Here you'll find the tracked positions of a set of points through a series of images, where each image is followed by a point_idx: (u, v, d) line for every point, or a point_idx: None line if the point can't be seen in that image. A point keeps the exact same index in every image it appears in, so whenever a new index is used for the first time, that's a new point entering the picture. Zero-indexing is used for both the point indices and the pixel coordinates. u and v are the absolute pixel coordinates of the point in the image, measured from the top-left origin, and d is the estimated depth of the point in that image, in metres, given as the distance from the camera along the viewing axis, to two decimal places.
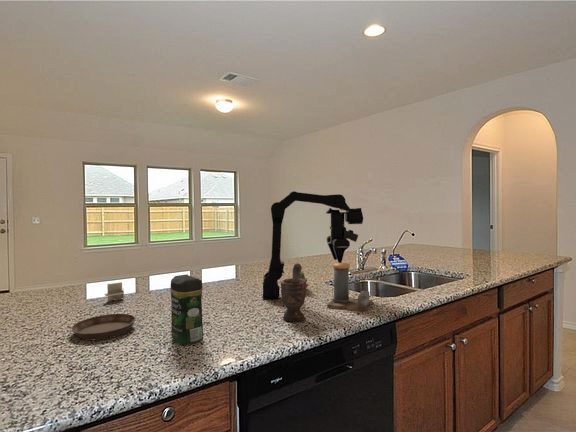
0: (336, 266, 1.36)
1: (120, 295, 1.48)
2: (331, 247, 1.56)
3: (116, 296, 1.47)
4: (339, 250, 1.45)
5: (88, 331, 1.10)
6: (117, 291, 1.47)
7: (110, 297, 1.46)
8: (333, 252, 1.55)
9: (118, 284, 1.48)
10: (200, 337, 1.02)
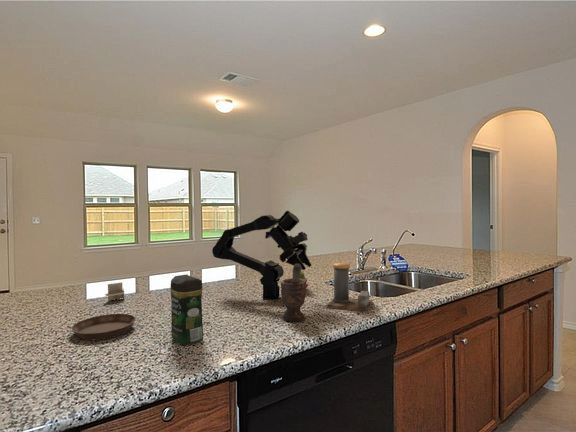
0: (336, 266, 1.36)
1: (120, 295, 1.48)
2: (299, 259, 1.49)
3: (116, 296, 1.47)
4: (294, 260, 1.40)
5: (88, 331, 1.10)
6: None
7: (110, 297, 1.46)
8: (304, 261, 1.48)
9: (118, 284, 1.48)
10: (200, 337, 1.02)
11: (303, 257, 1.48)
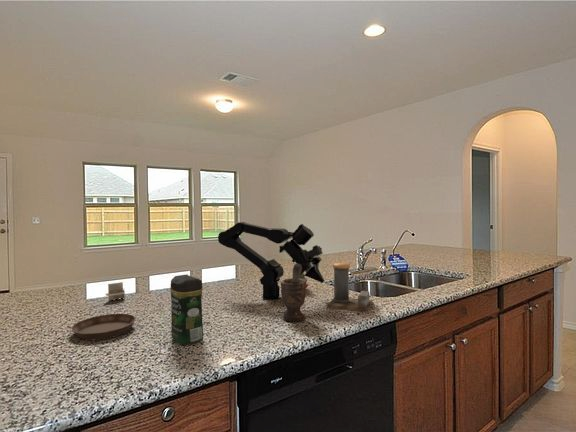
0: (336, 266, 1.36)
1: (121, 295, 1.49)
2: None
3: (117, 296, 1.48)
4: (312, 273, 1.41)
5: (88, 331, 1.10)
6: None
7: (111, 297, 1.46)
8: None
9: (119, 284, 1.48)
10: (200, 337, 1.02)
11: None
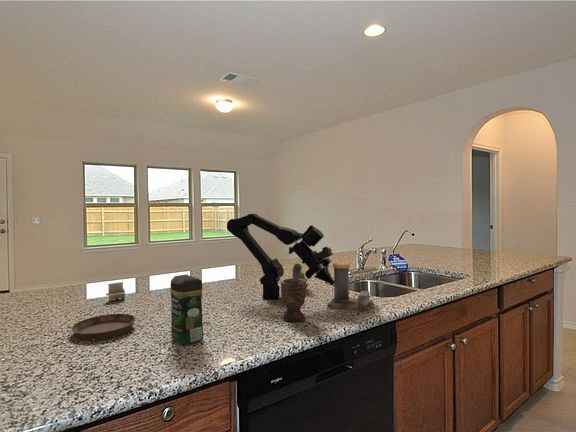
0: (336, 266, 1.36)
1: (121, 295, 1.49)
2: None
3: (117, 296, 1.48)
4: (322, 274, 1.40)
5: (88, 331, 1.10)
6: (118, 291, 1.48)
7: (111, 297, 1.46)
8: None
9: (119, 284, 1.48)
10: (200, 337, 1.02)
11: None
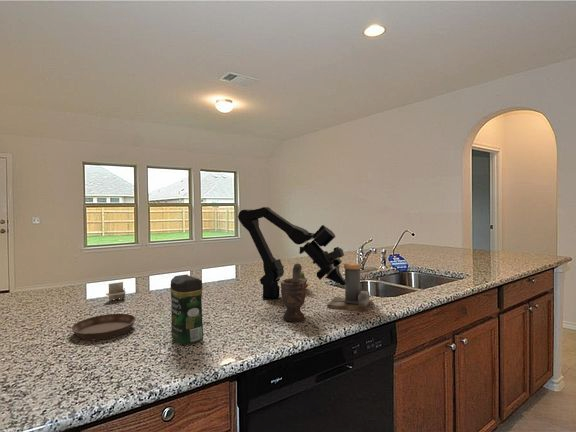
0: (347, 267, 1.34)
1: (121, 295, 1.49)
2: None
3: None
4: (333, 275, 1.38)
5: (88, 331, 1.10)
6: (118, 291, 1.48)
7: (111, 297, 1.46)
8: None
9: (119, 284, 1.48)
10: (200, 337, 1.02)
11: None
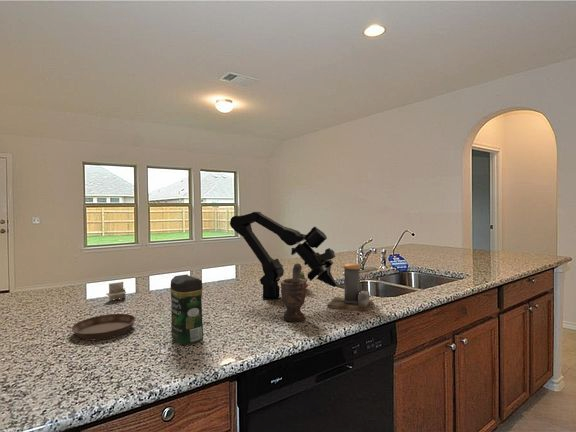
0: (347, 267, 1.34)
1: (121, 294, 1.49)
2: None
3: (117, 296, 1.48)
4: (324, 276, 1.39)
5: (88, 331, 1.10)
6: (118, 291, 1.48)
7: (112, 297, 1.47)
8: None
9: (119, 284, 1.48)
10: (200, 337, 1.02)
11: None
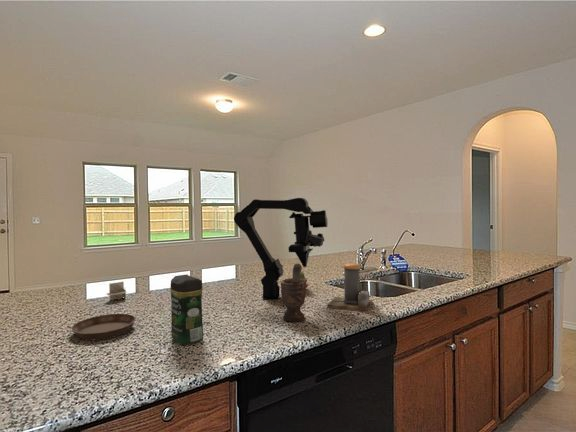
0: (347, 267, 1.34)
1: (122, 294, 1.49)
2: None
3: (118, 295, 1.48)
4: (301, 254, 1.45)
5: (88, 331, 1.10)
6: (119, 290, 1.48)
7: (112, 296, 1.47)
8: None
9: (120, 283, 1.49)
10: (200, 337, 1.02)
11: None
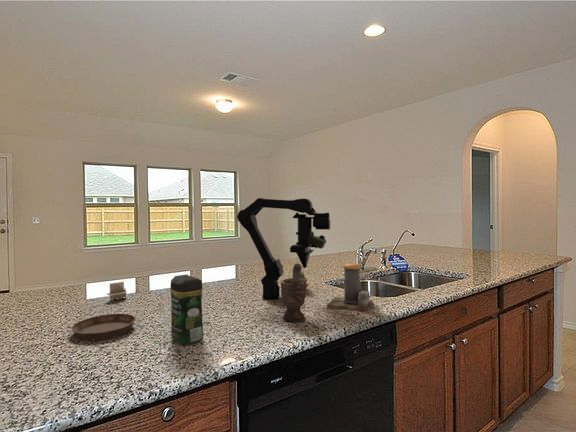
0: (347, 267, 1.34)
1: (122, 294, 1.49)
2: None
3: (118, 295, 1.48)
4: (302, 254, 1.45)
5: (88, 331, 1.10)
6: (119, 290, 1.49)
7: (112, 296, 1.47)
8: None
9: (120, 283, 1.49)
10: (200, 337, 1.02)
11: None
